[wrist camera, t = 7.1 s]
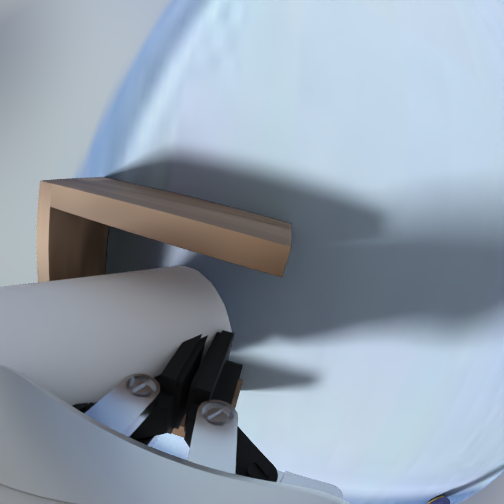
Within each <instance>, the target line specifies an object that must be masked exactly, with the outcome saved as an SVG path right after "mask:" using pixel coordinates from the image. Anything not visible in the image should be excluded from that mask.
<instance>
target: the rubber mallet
mask: <svg viewBox="0 0 504 504" xmlns="http://www.w3.org/2000/svg"><path fill="white" fill-rule="evenodd" d="M427 504H450V500H449V499H448V498H446V497H444V496H439V497H436V498H434V499H433V500H431V501H430V502H428V503H427Z"/></svg>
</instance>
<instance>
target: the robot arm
mask: <svg viewBox="0 0 504 504" xmlns="http://www.w3.org/2000/svg"><path fill="white" fill-rule="evenodd" d="M201 336H202V334H200V335H198V336H196V337H193V338H191V339H189V340H186V341H184V342H182V343H181V345H180V346H179V348H178V349H177V351H176V352H175V354H174V355H173V357H172V358H171V360H170V361H169V363H168V364H167V366H166V367H165V369H164V370H163V372H162V373H161V374H160V375H158V376H156V377H154V378H153V377H151V376H149V375H146V374H141V373H139V374H132V375H129V376H128V377H126V378H125V379H124V380H123V381H121V382H120V383H119V384H118V385H117V386H116V387H114V388H113V389H112V390H111V391H110V392H109V393H108V394H106V395H105V396H104V397H103V398H102V399H101V400H99V401H98V402H95V403H92V402H91V403H89V404H88V403H81V404H75V405H72V406H71V405H69V404H68V403H66V402H65V401H63V400H62V399H60V398H59V397H57V396H56V395H54V394H53V393H51V392H50V391H48V390H47V389H45V388H44V387H43V386H41V385H40V384H38V383H37V382H35V381H34V380H32V379H31V378H29V377H27V376H26V375H24V374H22V373H20V372H18V371H16V370H14V369H12V368H9V367H7V366H4V365H0V504H350V503H349V502H347V501H345V500H343V494H342V492H341V490H340V489H339V488H338V487H337V486H334V485H332V484H329V483H325V482H321V481H317V480H313V479H310V478H307V477H303V476H300V475H297V474H294V473H291V472H288V471H286V472H285V473H283V472H281V471H278V470H277V469H276V468H275V467H274V465H273V464H272V463H271V462H270V461H269V460H268V459H267V458H266V457H265V456H264V455H263V454H262V453H261V452H260V451H259V449H258V448H257V447H256V446H255V445H254V444H253V443H252V442H251V441H250V440H249V438H248V437H247V436H246V435H245V434H244V433H243V432H242V430H241V429H240V428H239V427H238V415H237V412H236V410H235V408H234V407H232V406H231V404H232V400H233V397H234V394H235V390H236V387H237V383H238V380H239V376H240V373H241V369H242V366H243V365H241V364H238V363H234V362H231V361H228V358H229V354H230V350H231V346H232V341H233V337H234V333H231V332H228V331H225V330H222V332H221V333H220V332H217V333H216V335H215V337H214V339H213V341H212V343H211V345H210V347H209V349H208V351H207V353H206V355H205V357H204V358H203V360H202V362H201V358H202V354H203V350H204V347H205V343H206V340H207V337H208V335H207V336H205V337H203V338H201ZM200 362H201V364H200ZM185 414H186V418H185V426H184V432H185V438H184V440H185V441H186V443H187V444H188V446H189V447H190V450H189V455H188V460H184V459H181V458H178V457H176V456H173V455H170V454H167V453H165V452H162V451H160V450H157V449H155V448H152V446H153V445H154V444H155V442H156V441H157V440H158V438H159V435H161V434H165V433H170V434H171V433H172V431H173V429H174V428H175V429H178V428H179V427H180V425H181V422H182V420H183V418H184V416H185Z"/></svg>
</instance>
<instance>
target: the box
mask: <svg viewBox="0 0 504 504" xmlns="http://www.w3.org/2000/svg"><path fill="white" fill-rule="evenodd" d="M38 199H39V200H38V213H37V272H38V282H47V281H55V280H64V279H72V278H81V277H89V276H98V275H105V267H106V252H107V240H108V230H109V226H112V227H115V228H118V229H121V230H125V231H128V232H131V233H134V234H137V235H141V236H144V237H147V238H150V239H154V240H157V241H160V242H163V243H167V244H170V245H173V246H177V247H180V248H183V249H187V250H190V251H193V252H197V253H200V254H203V255H207V256H210V257H213V258H217V259H220V260H224V261H227V262H230V263H234V264H237V265H241V266H244V267H248V268H251V269H254V270H258V271H261V272H265V273H268V274H272V275H275V276H279V277H282V276H283V273H284V270H285V266H286V263H287V260H288V256H289V253H290V250H291V224H290V223H287V222H283V221H280V220H276V219H273V218H269V217H265V216H262V215H258V214H255V213H251V212H247V211H243V210H240V209H236V208H232V207H228V206H224V205H221V204H217V203H213V202H209V201H205V200H201V199H197V198H193V197H189V196H185V195H180V194H176V193H172V192H168V191H164V190H159V189H155V188H151V187H146V186H142V185H137V184H133V183H128V182H123V181H119V180H114V179H109V178H105V177H93V178H72V179H57V180H43V181H40V188H39V198H38ZM242 381H243V380H238V383H237V387H236V390H235V394H234V397H233V400H232V404H231V406H232V407H234V408H235V407H236V403H237V399H238V396H239V392H240V389H241V385H242ZM185 418H186V414H185V416H184V418H183V420H182V422H181V425H180V427H179V428H178V429H175V428H174V429H173V431H172V433H173V434H175V435H178V436H181V437H184V438H185V432H184V426H185Z"/></svg>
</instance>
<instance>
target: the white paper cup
mask: <svg viewBox="0 0 504 504" xmlns="http://www.w3.org/2000/svg"><path fill="white" fill-rule="evenodd" d="M222 330H225V331H228V332H231V331H232V329H231V326H230V322H229V318H228V315H227V311H226V307H225V304H224V303H223V301H222V299H221V298H220V296H219V294H218V293H217V291H216V289H215V287H214V286H213V284H212V283H211V282H210V281H209V280H208V279H207V278H205V277H204V276H203V275H202V274H201V273H200V272H199V271H198V270H196V269H193V268H189V267H186V266H183V265H180V266H172V267H164V268H156V269H147V270H139V271H131V272H123V273H114V274H106V275H98V276H89V277H81V278H72V279H64V280H55V281H47V282H38V283H29V284H22V285H12V286H3V287H0V365H4V366H7V367H9V368H12V369H14V370H16V371H18V372H20V373H22V374H24V375H26V376H27V377H29V378H31V379H32V380H34V381H35V382H37V383H38V384H40V385H41V386H43V387H44V388H45V389H47V390H48V391H50V392H51V393H53V394H54V395H56V396H57V397H59V398H60V399H62V400H63V401H65V402H66V403H68V404H69V405H71V406H72V405H75V404H81V403H88V404H89V403H91V402H92V403H95V402H98V401H99V400H101V399H102V398H103V397H104V396H105V395H106V394H108V393H109V392H110V391H111V390H112V389H113V388H114V387H116V386H117V385H118V384H119V383H120V382H121V381H123V380H124V379H125V378H126V377H128V376H129V375H132V374H139V373H141V374H146V375H149V376H151V377H153V378H154V377H156V376H158V375H160V374H161V373H162V372H163V370H164V369H165V367H166V366H167V364H168V363H169V361H170V360H171V358H172V357H173V355H174V354H175V352H176V351H177V349H178V348H179V346H180V345H181V343H182V342H184V341H186V340H189V339H191V338H193V337H196V336H198V335H200V334H202V336H201V338H203V337H205V336H207V335H208V337H207V340H206V343H205V347H204V350H203V354H202V358H201V362H202V360H203V358H204V357H205V355H206V353H207V351H208V349H209V347H210V345H211V343H212V341H213V339H214V337H215V335H216V333H217V332H220V333H221V332H222ZM230 351H231V350H230ZM201 362H200V364H201Z"/></svg>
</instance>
